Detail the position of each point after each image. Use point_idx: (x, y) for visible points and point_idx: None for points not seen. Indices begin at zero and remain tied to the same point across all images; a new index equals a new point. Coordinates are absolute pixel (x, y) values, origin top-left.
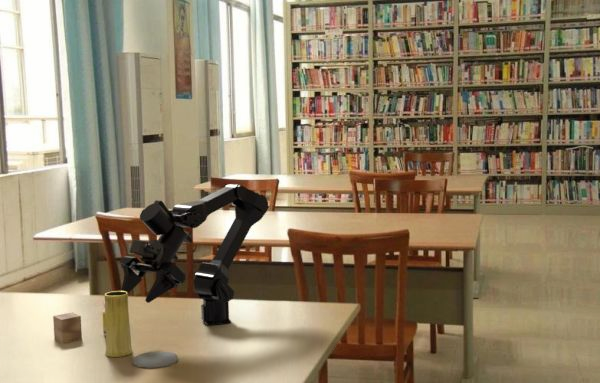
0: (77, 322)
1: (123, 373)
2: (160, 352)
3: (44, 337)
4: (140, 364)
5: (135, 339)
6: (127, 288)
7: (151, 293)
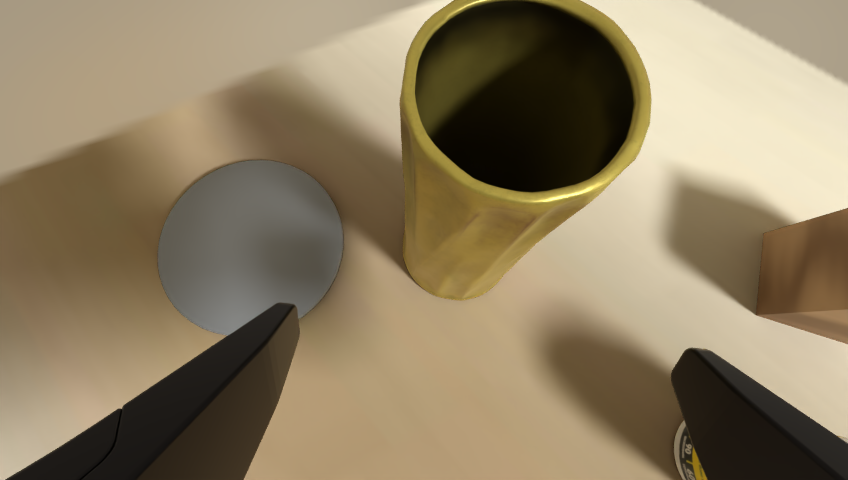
0: (845, 289)
1: (278, 99)
2: None
3: None
4: (258, 162)
5: (547, 438)
6: (756, 478)
7: (202, 356)
